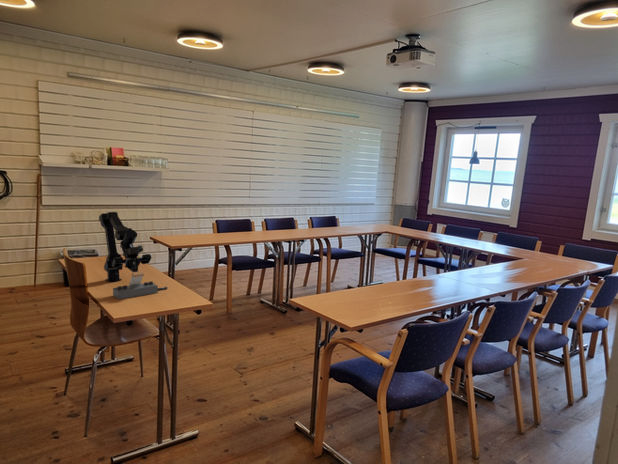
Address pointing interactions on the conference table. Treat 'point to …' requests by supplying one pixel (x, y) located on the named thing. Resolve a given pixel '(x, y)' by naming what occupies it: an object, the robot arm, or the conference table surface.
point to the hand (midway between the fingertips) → (136, 274)
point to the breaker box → (136, 290)
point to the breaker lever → (136, 278)
